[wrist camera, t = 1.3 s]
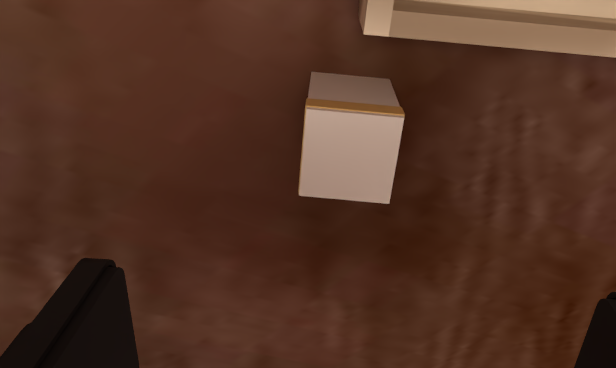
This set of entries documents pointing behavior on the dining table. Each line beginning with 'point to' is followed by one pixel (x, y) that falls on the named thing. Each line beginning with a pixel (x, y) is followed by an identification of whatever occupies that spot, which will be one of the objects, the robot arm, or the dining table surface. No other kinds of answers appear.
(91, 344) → the robot arm
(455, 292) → the dining table surface
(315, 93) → the small white lidded box
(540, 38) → the walled box
